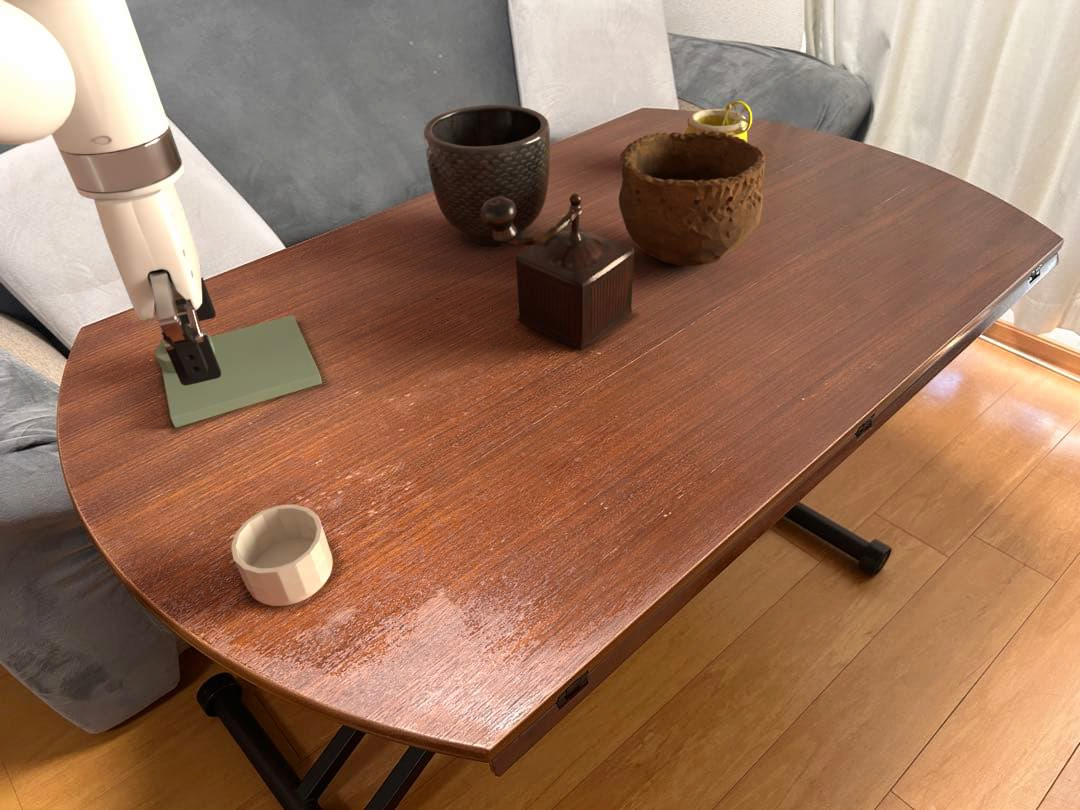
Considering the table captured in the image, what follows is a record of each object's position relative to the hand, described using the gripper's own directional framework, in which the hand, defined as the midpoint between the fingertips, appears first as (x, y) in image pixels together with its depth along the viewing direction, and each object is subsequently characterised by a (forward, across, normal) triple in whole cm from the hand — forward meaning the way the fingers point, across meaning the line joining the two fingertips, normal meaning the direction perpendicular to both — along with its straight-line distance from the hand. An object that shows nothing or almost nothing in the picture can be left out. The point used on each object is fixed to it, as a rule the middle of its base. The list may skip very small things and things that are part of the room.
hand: (200, 348), depth 67 cm
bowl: (+15, -20, +60) cm, 65 cm away
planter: (+15, -38, +39) cm, 56 cm away
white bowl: (+15, +15, +2) cm, 21 cm away
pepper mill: (+15, -10, +38) cm, 42 cm away
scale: (+15, -17, 0) cm, 22 cm away
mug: (+15, -45, +80) cm, 93 cm away
